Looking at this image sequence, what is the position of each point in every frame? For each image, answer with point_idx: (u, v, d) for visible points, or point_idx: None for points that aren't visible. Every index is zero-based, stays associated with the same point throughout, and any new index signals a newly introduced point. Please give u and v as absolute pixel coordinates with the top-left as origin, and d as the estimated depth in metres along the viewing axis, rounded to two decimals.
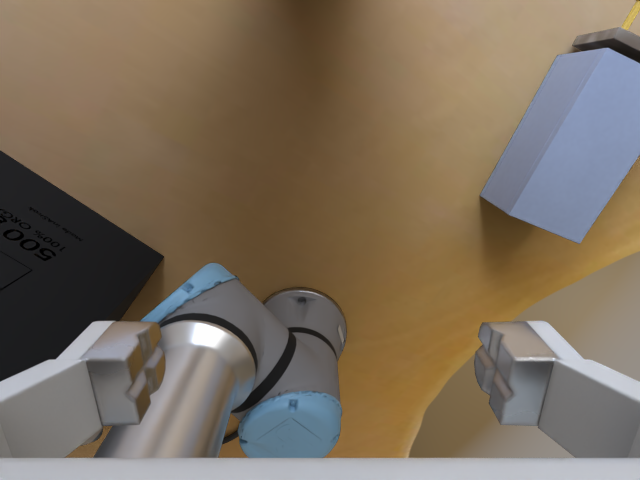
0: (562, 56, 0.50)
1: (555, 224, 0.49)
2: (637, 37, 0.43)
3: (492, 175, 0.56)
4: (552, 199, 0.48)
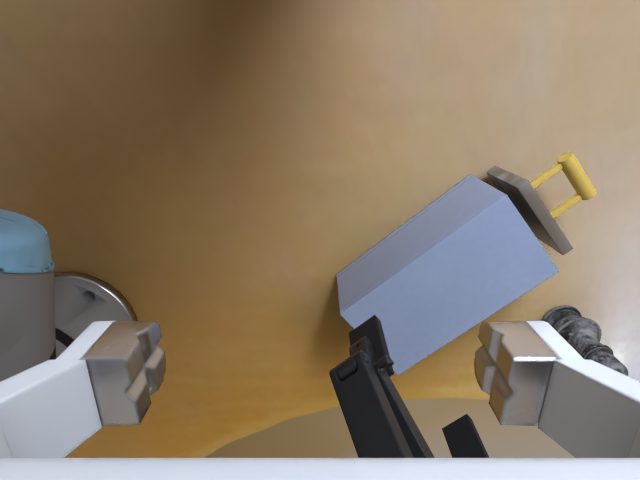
0: (472, 178, 0.45)
1: None
2: (538, 199, 0.38)
3: (356, 260, 0.50)
4: (390, 319, 0.42)
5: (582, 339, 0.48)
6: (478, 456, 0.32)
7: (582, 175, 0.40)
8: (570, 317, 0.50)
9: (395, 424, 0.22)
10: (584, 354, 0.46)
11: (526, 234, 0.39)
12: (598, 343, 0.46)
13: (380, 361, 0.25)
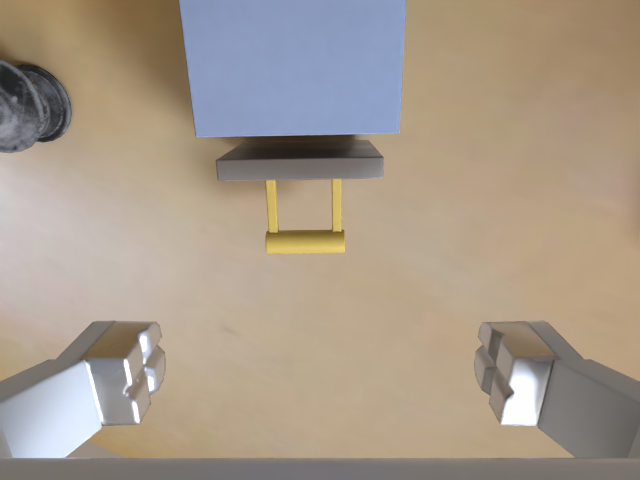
0: None
1: None
2: (340, 176, 0.22)
3: None
4: None
5: None
6: None
7: (307, 248, 0.26)
8: (47, 120, 0.27)
9: None
10: None
11: (305, 123, 0.20)
12: None
13: None
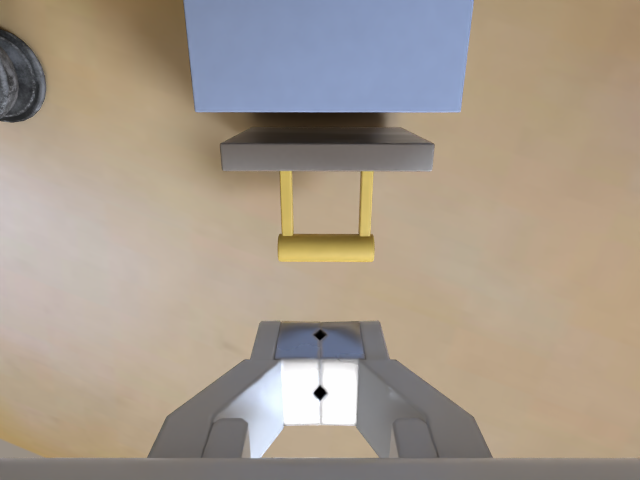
0: None
1: None
2: (377, 167, 0.17)
3: None
4: None
5: None
6: None
7: (328, 256, 0.22)
8: (13, 94, 0.22)
9: None
10: None
11: (339, 96, 0.15)
12: None
13: None
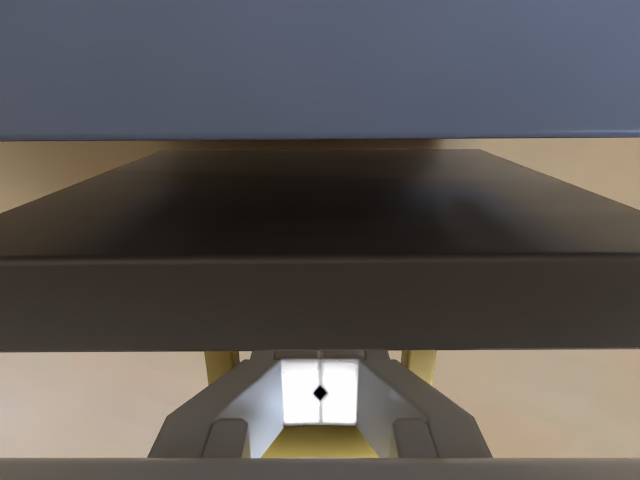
0: None
1: None
2: (516, 339, 0.04)
3: None
4: None
5: None
6: None
7: None
8: None
9: None
10: None
11: (388, 46, 0.03)
12: None
13: None
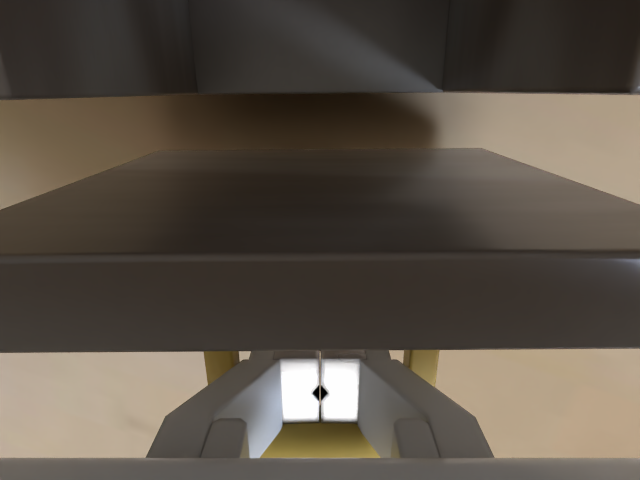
0: None
1: None
2: (522, 338, 0.04)
3: None
4: None
5: None
6: None
7: None
8: None
9: None
10: None
11: None
12: None
13: None
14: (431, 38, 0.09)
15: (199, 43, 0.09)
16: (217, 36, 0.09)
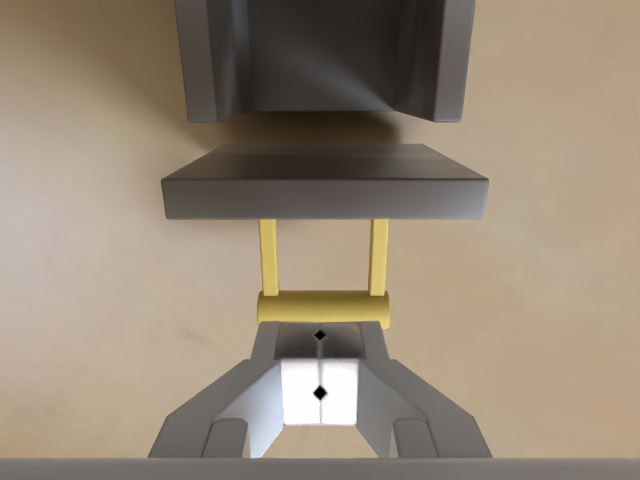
0: None
1: None
2: (402, 214, 0.11)
3: None
4: None
5: None
6: None
7: None
8: None
9: None
10: None
11: None
12: None
13: None
14: (386, 80, 0.16)
15: (255, 82, 0.16)
16: (265, 79, 0.16)
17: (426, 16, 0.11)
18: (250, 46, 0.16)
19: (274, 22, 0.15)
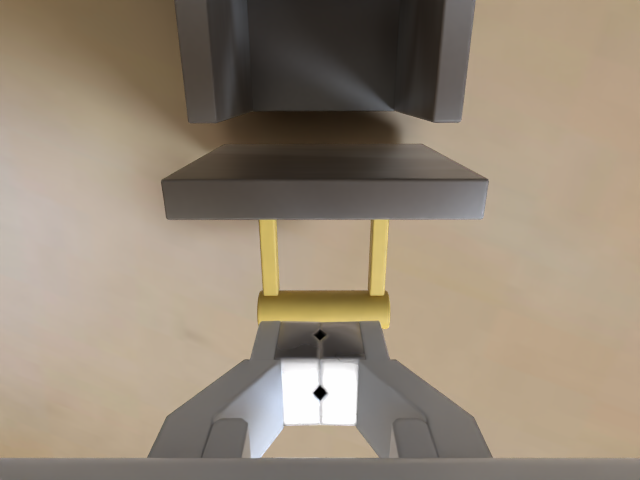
0: None
1: None
2: (402, 214, 0.11)
3: None
4: None
5: None
6: None
7: None
8: None
9: None
10: None
11: None
12: None
13: None
14: (387, 81, 0.16)
15: (255, 82, 0.16)
16: (265, 79, 0.16)
17: (426, 16, 0.11)
18: (250, 46, 0.16)
19: (274, 22, 0.15)
